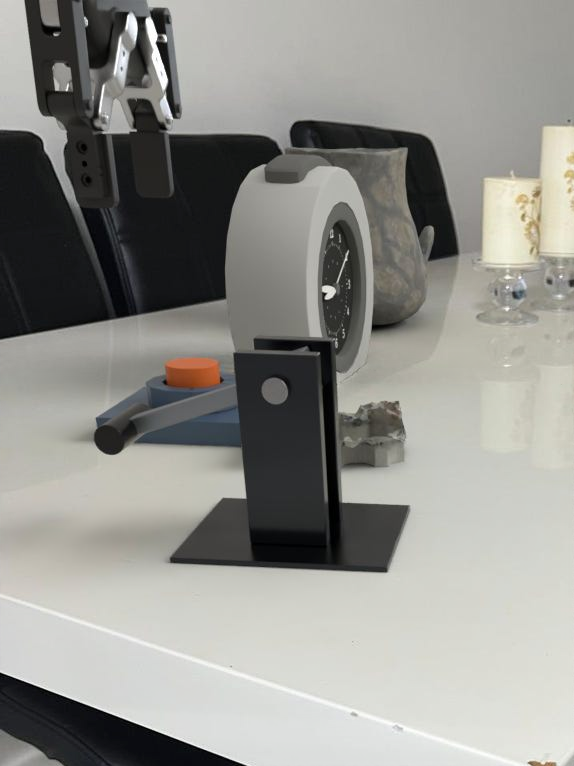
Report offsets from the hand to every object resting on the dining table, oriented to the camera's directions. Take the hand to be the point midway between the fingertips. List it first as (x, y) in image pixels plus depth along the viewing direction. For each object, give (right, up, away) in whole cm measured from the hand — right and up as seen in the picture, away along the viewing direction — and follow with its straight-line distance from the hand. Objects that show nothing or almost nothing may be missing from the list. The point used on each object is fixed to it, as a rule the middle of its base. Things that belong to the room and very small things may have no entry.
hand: (129, 202), depth 59 cm
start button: (-1, -6, +18) cm, 19 cm away
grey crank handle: (+6, -14, -3) cm, 16 cm away
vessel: (+5, +14, +67) cm, 69 cm away
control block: (-1, -10, +20) cm, 22 cm away
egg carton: (+10, -13, +14) cm, 22 cm away
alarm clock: (+4, 0, +40) cm, 40 cm away
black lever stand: (+10, -21, 0) cm, 23 cm away
